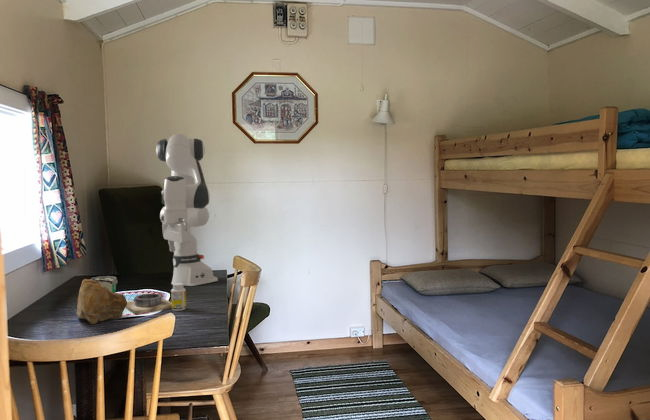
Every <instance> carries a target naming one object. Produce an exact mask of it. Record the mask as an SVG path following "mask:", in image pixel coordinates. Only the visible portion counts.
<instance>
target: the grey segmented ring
mask: <svg viewBox="0 0 650 420" xmlns="http://www.w3.org/2000/svg"><path fill="white" fill-rule="evenodd" d="M133 298H134V299H133V301H134V305H135V306H136V307H152V306H157V305H160V304H162V298H163V295H162V294H161V293H144V294H139V295H135V297H133Z"/></svg>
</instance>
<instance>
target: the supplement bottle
mask: <svg viewBox="0 0 650 420" xmlns="http://www.w3.org/2000/svg"><path fill="white" fill-rule="evenodd" d="M186 292H187V291H186V288H185V287H184V286H183V283H175V284H172V289H171V290H170V293H171V294H170V295H171V296H170V297H171V301H170V302H171V303H172V308H171V310H172V311H176V312H180V311H185V310H186V309H187V295H186V294H187V293H186Z"/></svg>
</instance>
